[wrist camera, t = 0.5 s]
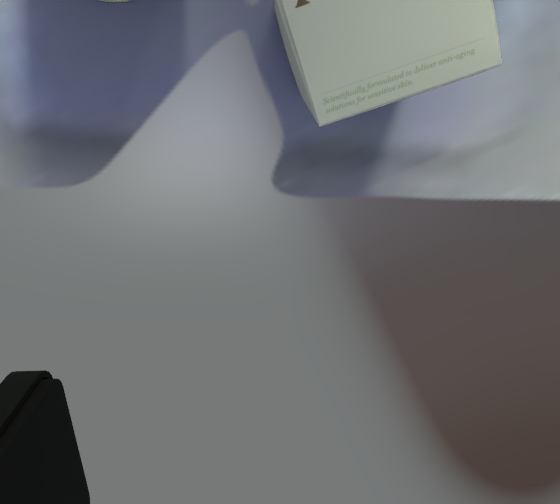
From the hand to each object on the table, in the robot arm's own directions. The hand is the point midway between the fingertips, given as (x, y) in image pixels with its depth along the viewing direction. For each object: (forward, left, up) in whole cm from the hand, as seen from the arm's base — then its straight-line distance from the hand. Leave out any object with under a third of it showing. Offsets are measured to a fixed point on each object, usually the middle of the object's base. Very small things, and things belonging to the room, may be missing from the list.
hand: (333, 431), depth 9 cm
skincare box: (-7, +3, -31) cm, 32 cm away
